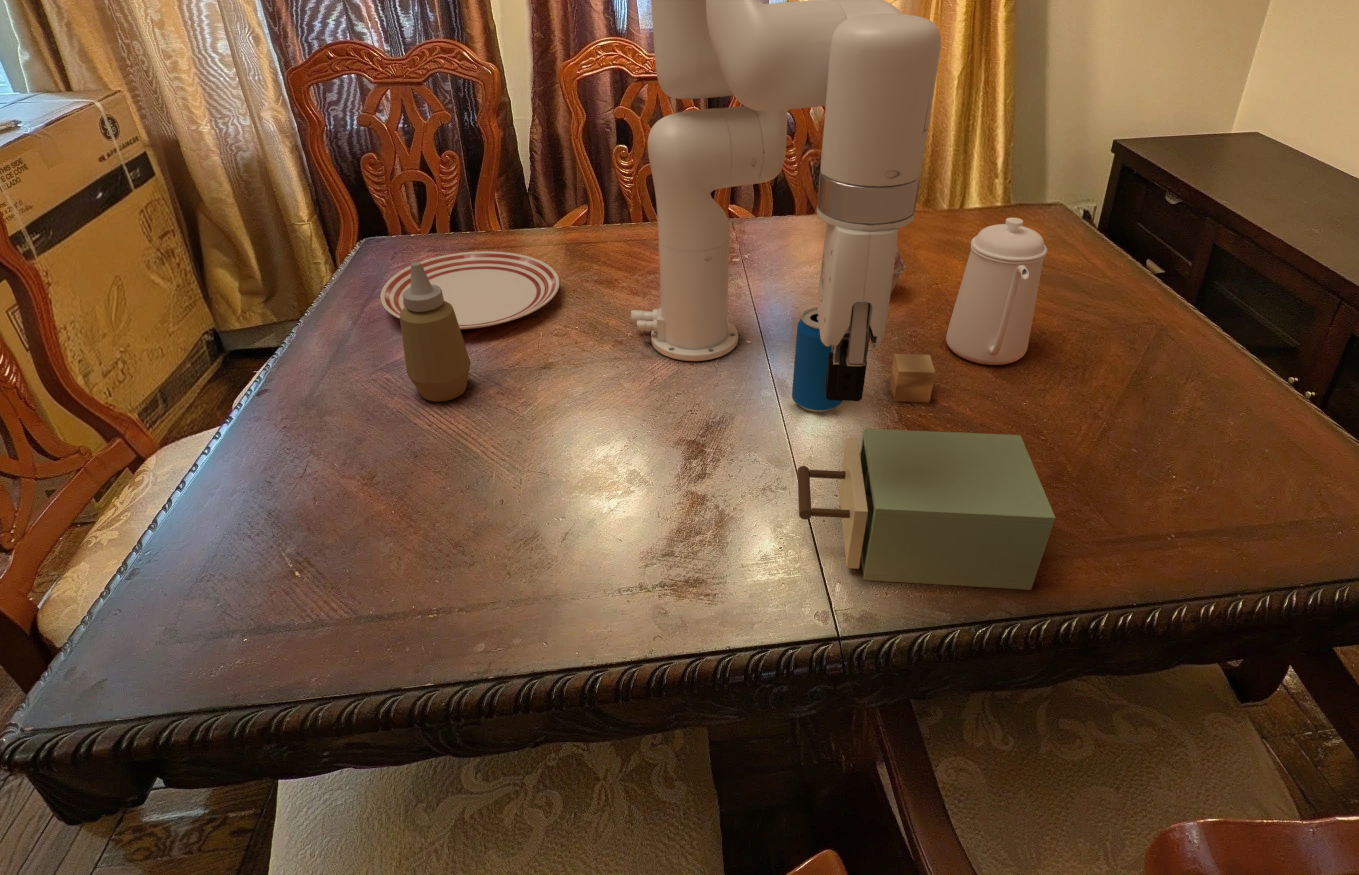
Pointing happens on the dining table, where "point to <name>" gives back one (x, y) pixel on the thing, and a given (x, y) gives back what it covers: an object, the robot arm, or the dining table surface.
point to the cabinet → (953, 509)
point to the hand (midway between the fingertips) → (843, 395)
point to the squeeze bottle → (432, 341)
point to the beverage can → (811, 366)
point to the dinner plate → (481, 286)
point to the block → (912, 378)
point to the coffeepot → (997, 294)
